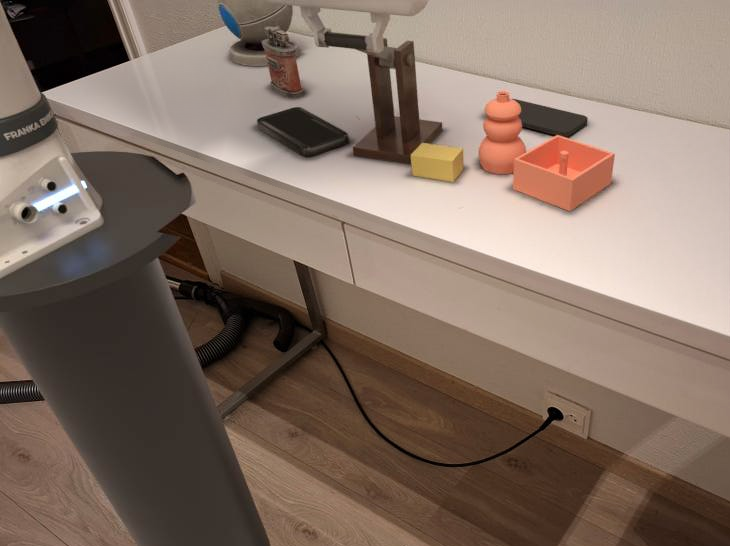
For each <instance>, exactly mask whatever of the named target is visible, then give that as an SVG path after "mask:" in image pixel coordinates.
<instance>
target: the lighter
mask: <svg viewBox="0 0 730 546" xmlns="http://www.w3.org/2000/svg"><path fill="white" fill-rule="evenodd" d="M265 32H266V35H267V38H268V39H265V40H263V41H262V46H263V48H264V49H265V54H266V59H267V63H268V65H267V68H268V72H269V76H270V86H271V89H272V90H273V91H274V92H275V93H278V94H279V95H282V96H284V97H287V98H290V99H298V98H301V97H304V95H305V93H304V88H303V87H302V83H301V78H300V72H299V67H298V63H297V57H296V56H295V54H296V49H295V47H294V46H292V45H291V44H289V43H287V42H290V37H289V33H287V32H284V31H281V30H280V28H279V27H278V26H277V27H266V28H265Z"/></svg>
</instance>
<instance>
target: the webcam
mask: <svg viewBox="0 0 730 546" xmlns="http://www.w3.org/2000/svg"><path fill="white" fill-rule="evenodd" d="M217 6H218V11H219V15H220V17H221V20H222V22H223V24H224V25H225V26H226V28H227V30H229V31H230V33H231V34H232V35H233V36H235V37H236V38H237V39H238V41H236V42H234V43H233V44H232V45H231V46H230V48H229V53H230V58H231V60H232V61H233V62H234V63H235V64H238V65H243V66H248V67H249V66H250V67H251V66H252V67H253V66H254V67H257V66H258V67H263V66H268V63H267V59H266V54H265V49H264V48H263V46H262V41H263V40H265V39H268V38H267V35H266V32H265V28H266V27H277V26H278V27H279V28H280V30H281V31H284V32H286V33H287V32H288V30H289V29H290V26H291V23H292V20H293V19H292V18H293V15H294V13H293V12H294V11H293V10H294V9H293V6H292V5H281V4H271V3H268V2H267V1H266V0H217ZM287 43H289V44H291V45H292V46H294V47H295V49H296V54H295V56H296V58H297V57H299V56H300V53H301V52H300V48H299V46H298V45H297V44H296V43H295V44H294V42H292V41H289V42H287Z"/></svg>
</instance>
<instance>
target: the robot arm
mask: <svg viewBox="0 0 730 546" xmlns="http://www.w3.org/2000/svg"><path fill="white" fill-rule="evenodd" d="M266 1H267V2H268V3H271V4H281V5H292V7H299V8H300V14H301V15H300V16H301V18H302V19H303V20H304V21H305V23H306V26H308V28H309V29H310V31H311V33H313V40H314V45H315V47H316V48H327V49H328V48H330V46H328V45H327V44H326V40H325V39H326V34H327V33H328V32H332V28H326V27H325V25H324V23H323V21H322V20H321V18H320V16H319V13H320V12H321V10H322V9H327V10H337V11H348V12H360V13H369V14H370V21H371V23H373V24H375V25H374V28H373V31H372V32H371V33H369V34H368V35H365V36H366V37H365V42H366V45H367V47H366V50H367V52H371V53H380V52H382V51H383V49H384V43H383V38H384V34H385V31H386V29H387V27H388V25H389V22H390V20H391V16H401V17H402V16H403V17H414V16H417V15H418V14H419V13H420V12H422V11H423V10H424V9H425V8H426V6H427V5H428V3H429V0H266ZM70 153H71V152H70V150H69V149H68V147H67V145H66V143H65V141H64V139H63V138H62V136H61V133H60V132H59V122H58V120H57V117H56V116H55V113H54V110H53V109H52V107H51V105H50V102H49V101H48V98H47V96H46V95H45V94H44V93H43V92H42V91H40V89H39V88H38V86H37V83H36V81H35V79H34V76H33V74H32V72H31V70H30V68H29V65H28V63H27V61H26V58H25V56H24V54H23V52H22V49H21V47H20V45H19V42H18V39H16V36H15V34H14V31H13V29H12V26H11V24H10V22H9V20H8V18H7V14H6V12H5V10H4V8H3V5H2V3H1V1H0V278H3V277H4V276H6V275H8V274H10V273H12V272H14V271H16V270H18V269H20V268H22V267H24V266H26V265H27V264H29V263H31V262H33V261H35V260H37V259H39V258H41V257H43V256H45V255H47V254H48V253H50V252H52V251H54V250H56V249H58V248H60V247H62V246H64V245H66V244H67V243H69V242H71V241H73V240H75V239H77V238H79V237H81V236H83V235H85V234H87V233H88V232H90V231H92V230H94V229H96V228H98V227H100V226H101V225H103V224H104V218H103V216H102V215H101V213H100V211H101V207H102V203H103V201H102V197H101V196H100V195H99V193H98V192H97V191H96V190H95V189H94V188H93V186H92V185H91V184H90V183H89V181H88V180H87V179H86V177H85V176H84V174H83V173H82V171H81V170H80V168H79V167H78V165H77V164H76V162H75V161H74V159H73V157H72V156H71V154H70Z"/></svg>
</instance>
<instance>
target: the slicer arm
mask: <svg viewBox="0 0 730 546" xmlns="http://www.w3.org/2000/svg"><path fill="white" fill-rule="evenodd" d="M366 36H367V35H365V34H364V35H362V34H353V33H343V32H334V31H331V32H328V33H327V34H326V39H325V40H326V44H327V45H328V46H329V47H334V48H341V49H351V50H355V51H359V52H361V53H364V54H366V55H367V54H369V55H371V56H374V57H377V58H379V59H380V60H379V65H380V66H383V67H386V68H389V69H390V70H395V59H394V50H395V49H397V48H398V47H393V46H388V47H385V46H384V49H383V51H382V52H380V53H371V52H367V50H366V47H367V45H366V42H365V37H366Z"/></svg>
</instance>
